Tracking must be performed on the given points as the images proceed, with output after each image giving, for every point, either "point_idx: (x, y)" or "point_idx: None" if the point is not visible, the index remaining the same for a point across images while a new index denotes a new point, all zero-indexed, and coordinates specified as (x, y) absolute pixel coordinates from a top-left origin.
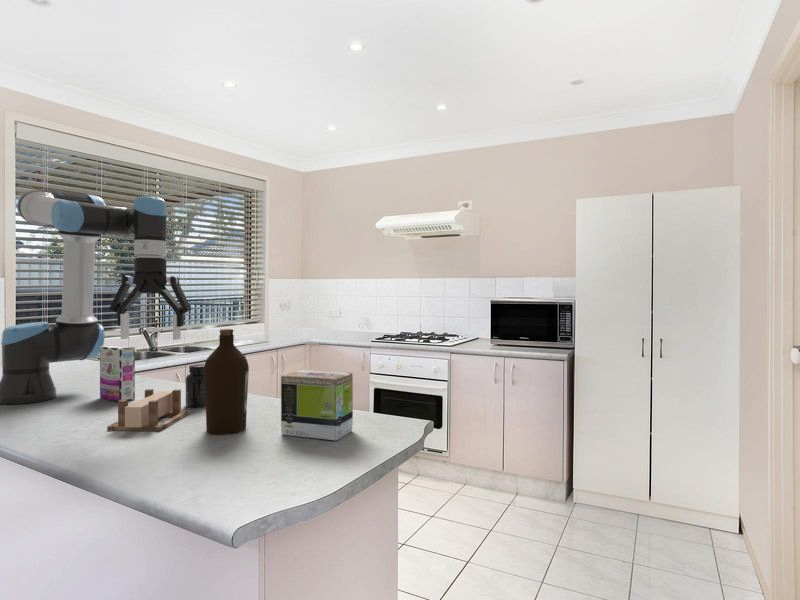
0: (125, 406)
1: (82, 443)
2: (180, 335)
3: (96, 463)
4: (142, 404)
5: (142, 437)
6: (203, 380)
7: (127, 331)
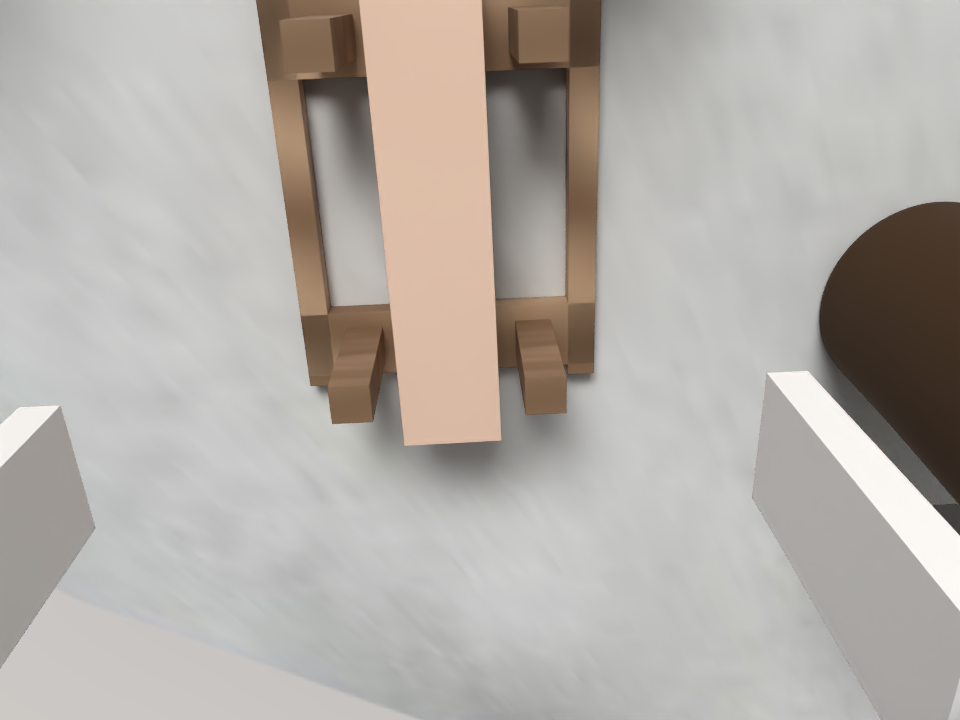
0: (374, 394)
1: (341, 546)
2: (826, 393)
3: (545, 707)
4: (472, 382)
5: (550, 455)
6: None
7: (23, 499)
